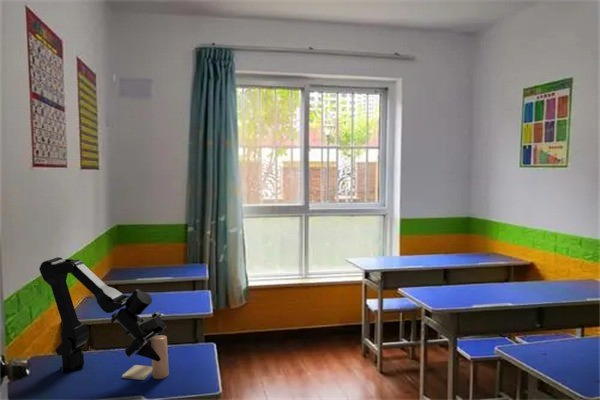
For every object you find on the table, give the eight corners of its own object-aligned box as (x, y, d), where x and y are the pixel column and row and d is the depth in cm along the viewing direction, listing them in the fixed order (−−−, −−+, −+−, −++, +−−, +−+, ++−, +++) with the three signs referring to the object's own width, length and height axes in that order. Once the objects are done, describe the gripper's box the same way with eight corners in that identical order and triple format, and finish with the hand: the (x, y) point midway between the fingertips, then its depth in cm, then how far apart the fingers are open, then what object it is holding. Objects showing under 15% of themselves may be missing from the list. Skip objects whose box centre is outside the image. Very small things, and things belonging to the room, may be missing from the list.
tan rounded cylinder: (154, 380, 157) (152, 342, 156) (151, 374, 162) (149, 337, 161) (170, 376, 160) (168, 339, 158) (166, 370, 164) (164, 334, 163)
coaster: (122, 377, 159) (121, 375, 159) (135, 367, 167) (134, 364, 167) (143, 379, 158) (143, 377, 158) (155, 369, 166) (155, 366, 166)
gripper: (131, 317, 150) (165, 353, 149) (160, 299, 168) (190, 331, 167) (110, 339, 153) (143, 375, 151) (141, 319, 171) (171, 351, 170)
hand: (163, 356), depth 160 cm, fingers closed on tan rounded cylinder, 5 cm apart
